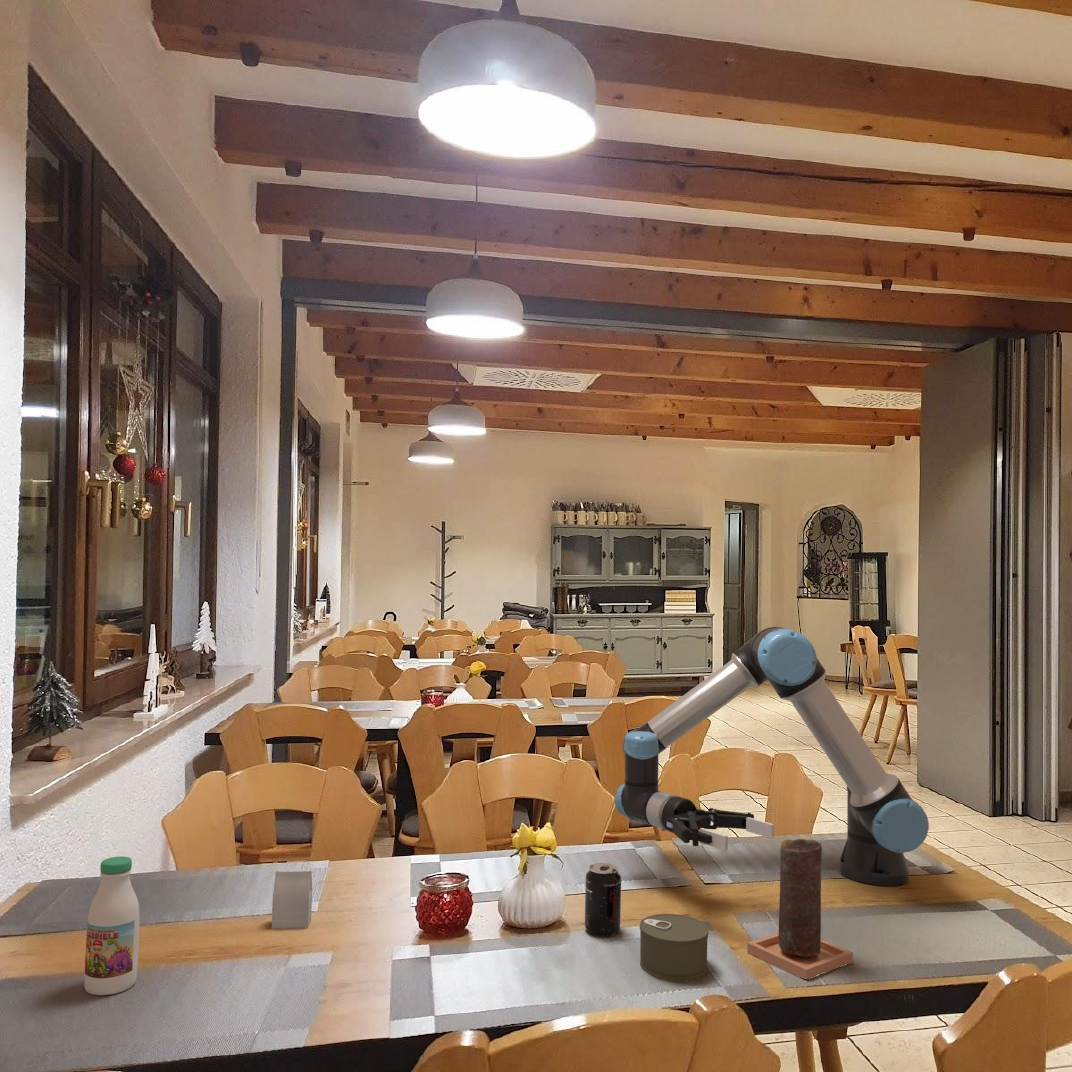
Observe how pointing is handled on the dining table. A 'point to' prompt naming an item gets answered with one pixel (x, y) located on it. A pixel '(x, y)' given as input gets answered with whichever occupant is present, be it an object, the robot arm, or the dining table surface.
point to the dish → (800, 957)
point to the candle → (800, 897)
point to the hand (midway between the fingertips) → (750, 837)
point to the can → (673, 947)
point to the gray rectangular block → (292, 899)
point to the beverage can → (603, 899)
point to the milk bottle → (112, 931)
